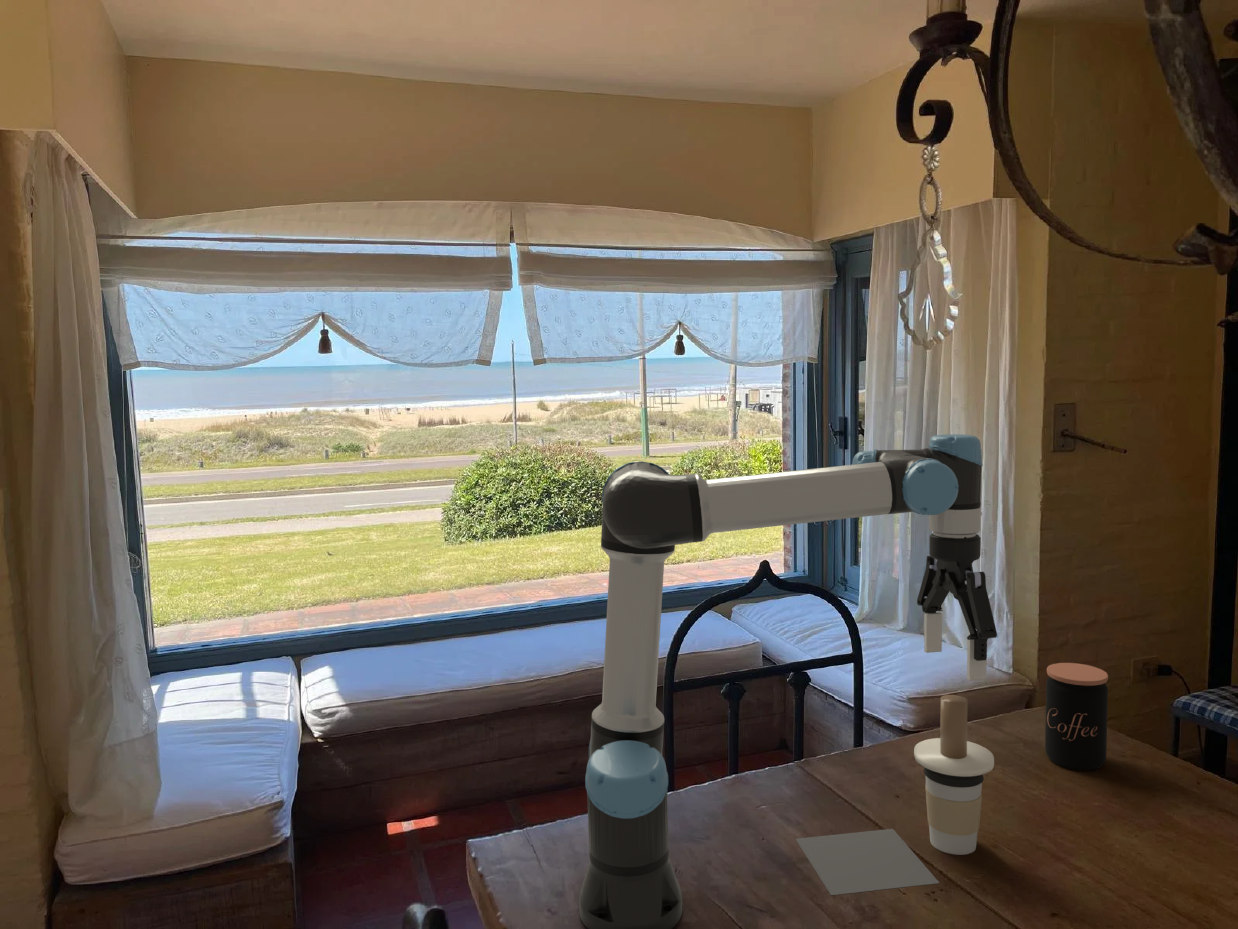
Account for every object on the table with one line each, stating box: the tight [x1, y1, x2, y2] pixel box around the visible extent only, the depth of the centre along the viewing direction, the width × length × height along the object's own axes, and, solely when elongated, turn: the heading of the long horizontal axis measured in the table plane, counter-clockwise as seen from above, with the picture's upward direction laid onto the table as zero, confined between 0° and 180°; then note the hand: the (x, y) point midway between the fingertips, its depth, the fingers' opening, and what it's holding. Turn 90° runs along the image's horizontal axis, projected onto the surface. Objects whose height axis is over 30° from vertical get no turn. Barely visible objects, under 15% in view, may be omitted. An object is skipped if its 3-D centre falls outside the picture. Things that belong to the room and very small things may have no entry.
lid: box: [913, 694, 995, 777], centre depth 140 cm, size 12×12×10 cm
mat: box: [795, 828, 940, 896], centre depth 138 cm, size 17×16×1 cm
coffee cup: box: [923, 767, 985, 856], centre depth 141 cm, size 9×9×15 cm
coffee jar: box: [1044, 662, 1109, 771], centre depth 171 cm, size 11×11×18 cm
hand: (953, 665), depth 139 cm, fingers open, 13 cm apart
